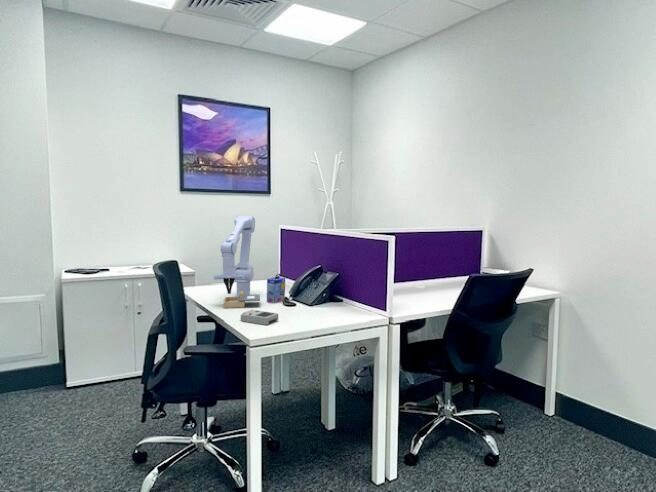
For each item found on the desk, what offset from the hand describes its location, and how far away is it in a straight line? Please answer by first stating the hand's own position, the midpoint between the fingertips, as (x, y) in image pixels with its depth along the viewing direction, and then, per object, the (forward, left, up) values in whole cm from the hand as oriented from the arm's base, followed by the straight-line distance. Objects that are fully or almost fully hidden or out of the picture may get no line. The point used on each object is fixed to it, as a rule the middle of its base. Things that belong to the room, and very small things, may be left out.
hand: (229, 293), depth 221 cm
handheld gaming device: (+31, +14, -7) cm, 35 cm away
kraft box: (0, +2, -6) cm, 7 cm away
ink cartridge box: (-7, +23, -6) cm, 25 cm away
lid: (0, +10, -3) cm, 10 cm away
